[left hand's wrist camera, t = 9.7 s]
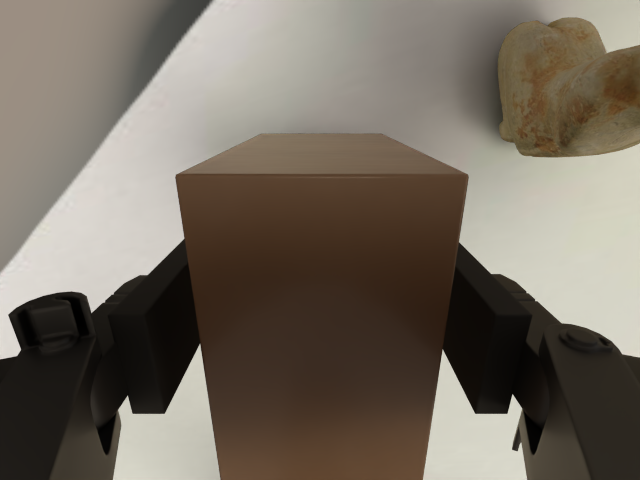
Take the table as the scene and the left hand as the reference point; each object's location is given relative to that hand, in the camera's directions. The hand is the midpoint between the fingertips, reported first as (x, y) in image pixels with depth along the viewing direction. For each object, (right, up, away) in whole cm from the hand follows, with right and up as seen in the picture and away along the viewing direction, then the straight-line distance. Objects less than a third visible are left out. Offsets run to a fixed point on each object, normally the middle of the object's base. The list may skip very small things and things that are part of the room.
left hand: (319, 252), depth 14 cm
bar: (0, -12, +6) cm, 14 cm away
